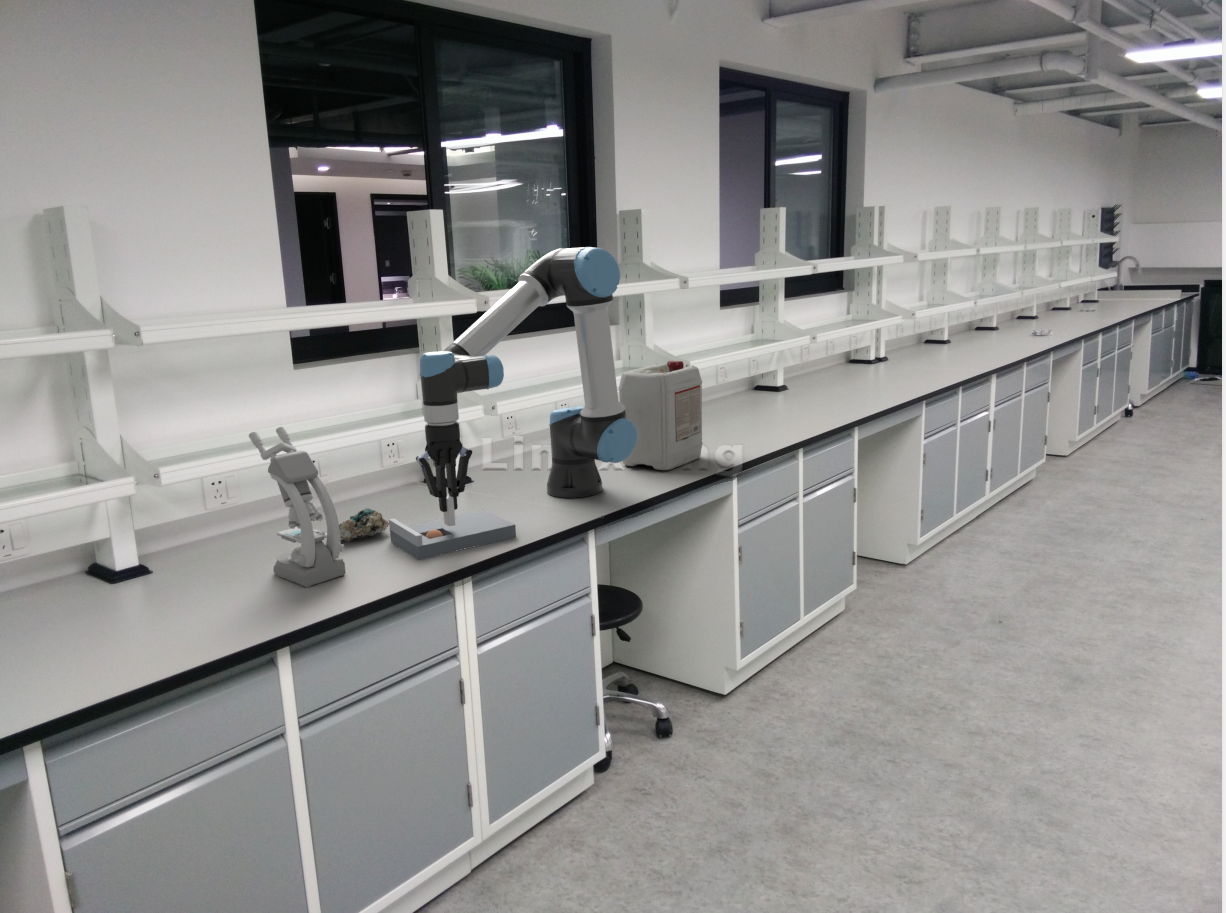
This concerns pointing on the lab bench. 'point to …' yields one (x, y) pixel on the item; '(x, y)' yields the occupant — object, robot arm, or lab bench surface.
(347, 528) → the mineral specimen
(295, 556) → the microscope
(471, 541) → the grey flat block
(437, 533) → the ball
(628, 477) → the lab bench surface
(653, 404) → the jerry can
